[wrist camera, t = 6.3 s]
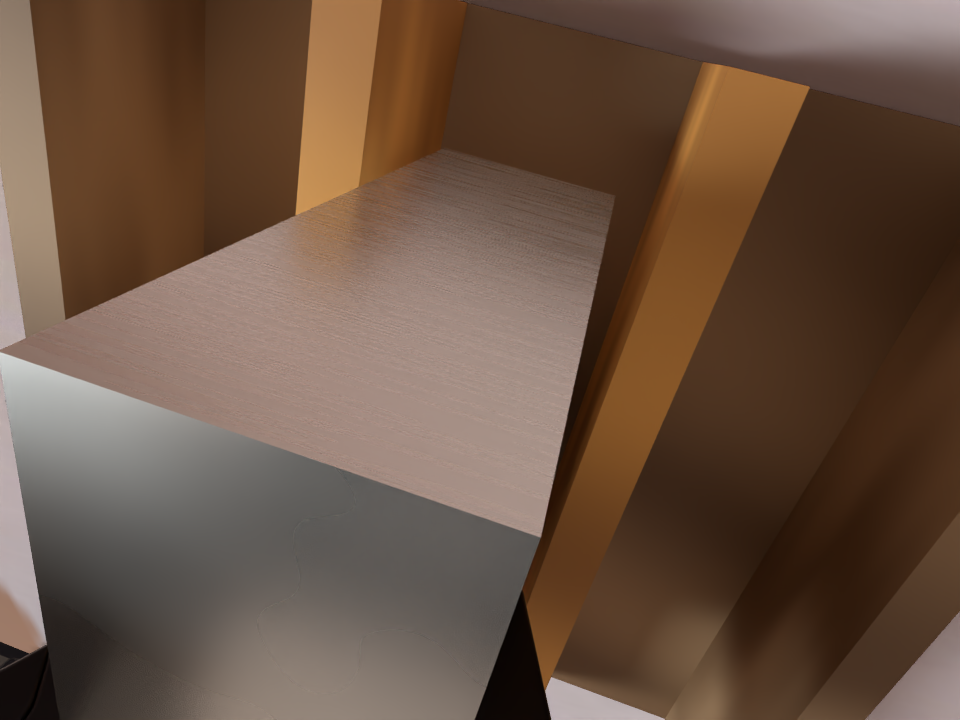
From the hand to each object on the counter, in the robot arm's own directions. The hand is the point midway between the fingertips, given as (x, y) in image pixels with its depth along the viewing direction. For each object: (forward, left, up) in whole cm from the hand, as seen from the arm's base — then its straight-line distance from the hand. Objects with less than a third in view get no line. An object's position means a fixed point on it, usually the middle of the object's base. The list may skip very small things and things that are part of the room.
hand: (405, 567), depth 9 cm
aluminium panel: (0, 0, -3) cm, 3 cm away
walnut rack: (0, 0, -6) cm, 6 cm away
